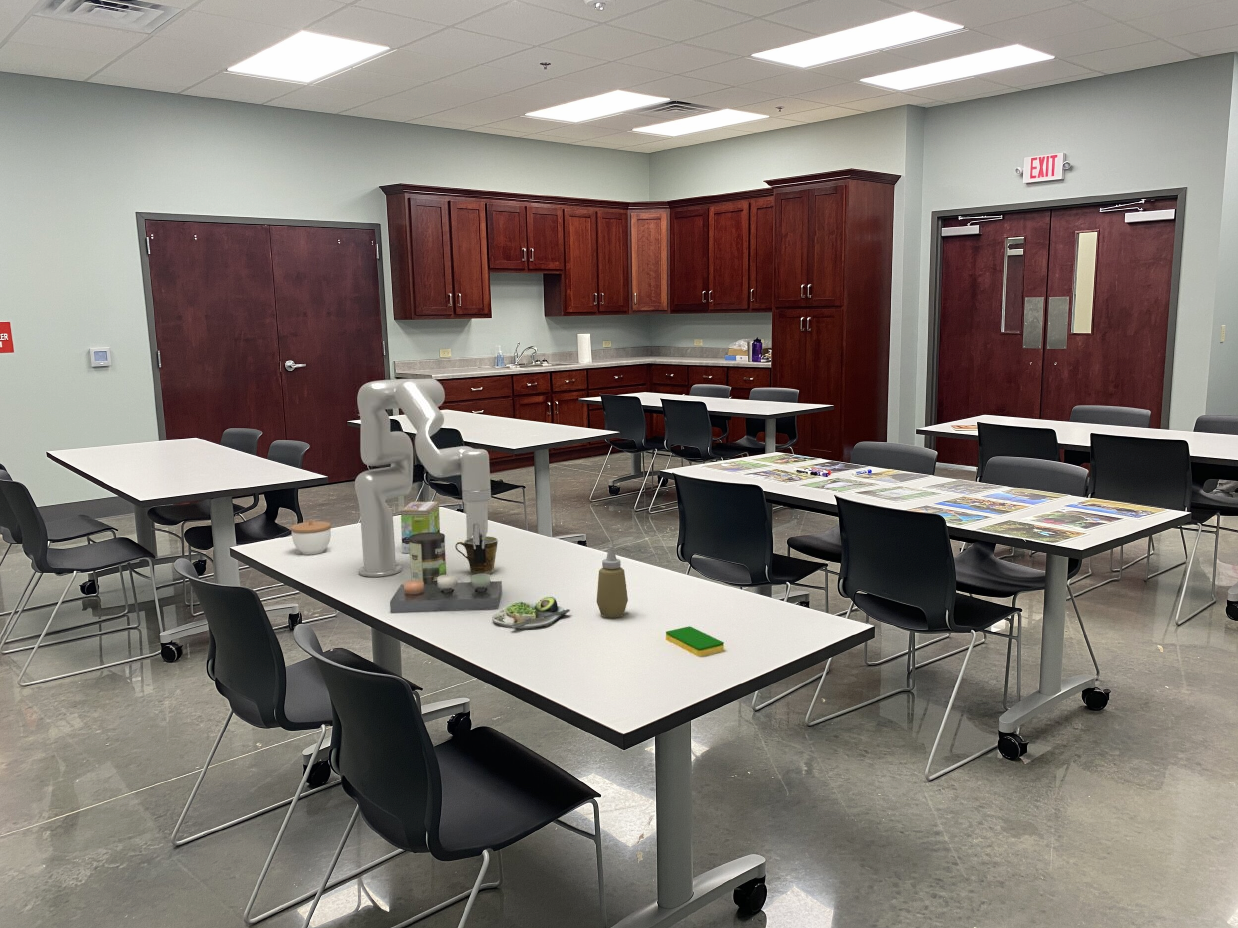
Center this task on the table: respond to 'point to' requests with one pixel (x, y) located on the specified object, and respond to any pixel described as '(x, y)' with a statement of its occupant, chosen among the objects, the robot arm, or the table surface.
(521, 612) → the avocado toast plate
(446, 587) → the button cream
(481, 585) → the button sage
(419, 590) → the brown egg
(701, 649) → the dish sponge
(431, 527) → the tea box
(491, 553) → the ceramic cup
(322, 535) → the lidded bowl
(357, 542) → the table surface
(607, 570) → the squeeze bottle
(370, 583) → the table surface
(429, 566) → the coffee can
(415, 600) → the panel
